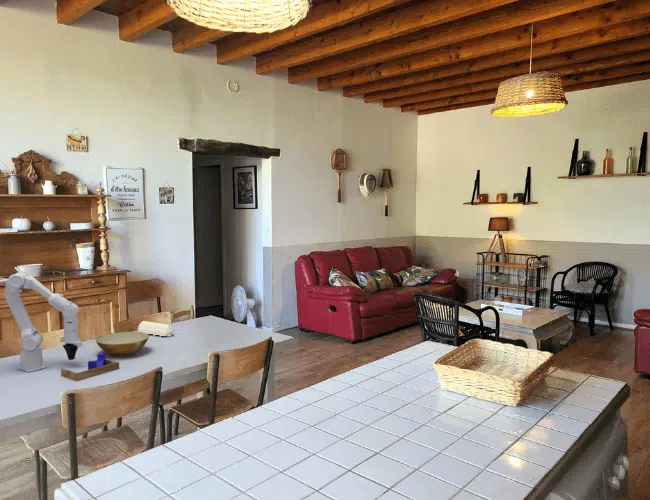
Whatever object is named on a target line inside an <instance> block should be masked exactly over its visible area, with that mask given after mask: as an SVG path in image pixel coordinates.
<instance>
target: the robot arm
mask: <svg viewBox="0 0 650 500" xmlns="http://www.w3.org/2000/svg"><path fill="white" fill-rule="evenodd" d="M23 289H28V290H29V289H30V290H31V289H32V290H33V291H34V292H37V293H38V294H40V295H41V296H42V297H44V298H45V299H47V301H48V304H49V305H51V307H53V308H55V309H56V310H57V311H59V312H60V313H61V315H62V316H63V337H60V339H59V340H60V343H64V344H62V348H63V349H64V351H65V353H66V355H67V359H68V361H73V360H75V358H76V354H77V351H78V348H81V347H83V341H81V338H80V337H79V319H78V313H79V310H80V309H79V306H78V305H77V304H76V303H75V302H72V301H71V300H68V299H66V298H65V297H64V294H62V293H58V292H57V293H56V292H55V293H54V292H52V291H51V290H50V289H49V288H47V287H46V286H45V285H43V283H41V282H40V281H39V280H38V279H36V278H35V277H34V276H33V275H29V274H28V273H27V272H26V271H18V272H16V273H14V274H11V275H10V276H9V277H8V278H7V279H6V280H5V289H4V293H3V296H4V298H5V300H6V303H7V305H8V306H9V309H10V311H11V314H12V316H13V318H14V320H15V322H16V324H17V327H18V328H19V330H20V338H21V346H22V348H23V349H22V350H21V351H20V354H19V358H20V359H19V361H20V366H18V367H17V368H18V369H20V370H22V371H25V372H27V373H31V372H35V371H39V370H43V369H46V368H47V367H48V366H47V365H44V364H43V346H42V343H43V341H44V338H43V335H42V334H41V332H39V331H38V330H37V328H36V327H35V326H34V325H33V323H32V321H31V318H30V316H29V314H28V312H27V309H26V307H25V305H24V302H23V301H22V298H21V297H20V293H21V291H22V290H23Z"/></svg>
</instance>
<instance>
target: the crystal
mask: <svg viewBox="0 0 650 500" xmlns="http://www.w3.org/2000/svg"><path fill="white" fill-rule="evenodd" d="M137 332H143V333H146V334H153V335H152V336H155V335H160V336H159V337H161V336H168V335H172V334H173V333H174V334H175V332H174V329H173V327H172V326H171V324H167V323H162V322H161V323H160V322H153V321H148V320H147V321H146V320H142V321H141V322H140V323H139V325H138V328H137ZM174 334H173V335H174Z"/></svg>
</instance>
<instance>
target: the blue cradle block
mask: <svg viewBox="0 0 650 500" xmlns="http://www.w3.org/2000/svg"><path fill="white" fill-rule="evenodd" d="M106 356H107V355H106V353H98V354H97V359H95V360H89V361H87V370H90V369H94V368H97V367H101V366H104V365H106V359H107V357H106Z"/></svg>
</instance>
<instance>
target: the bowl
mask: <svg viewBox="0 0 650 500" xmlns="http://www.w3.org/2000/svg"><path fill="white" fill-rule="evenodd" d="M149 338H150V335H148V334H146V333H143V332H138V331H118V332H111V333H107V334H104V335H100V336H98V337H97V338H95V342H96V344H97V345H98V347H99V348H100V349H101V350H102V351H103V352H104V353H105V354H106V353H107V354H108V355H111V356H114V357H126V356H127V355H128V356H131V354H132V355H133V354H134V355H135V354H136V352H139V351H140V350H141V349H142V348H143V347H144V346H145V345H146V344H147V342H148V340H149Z"/></svg>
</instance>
